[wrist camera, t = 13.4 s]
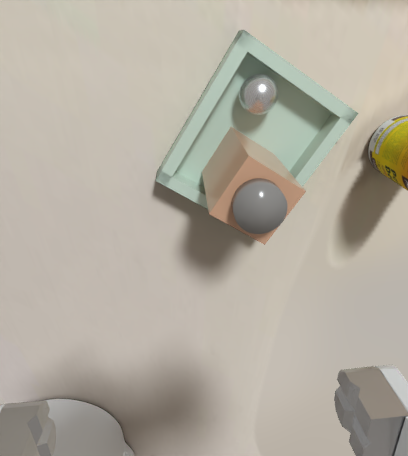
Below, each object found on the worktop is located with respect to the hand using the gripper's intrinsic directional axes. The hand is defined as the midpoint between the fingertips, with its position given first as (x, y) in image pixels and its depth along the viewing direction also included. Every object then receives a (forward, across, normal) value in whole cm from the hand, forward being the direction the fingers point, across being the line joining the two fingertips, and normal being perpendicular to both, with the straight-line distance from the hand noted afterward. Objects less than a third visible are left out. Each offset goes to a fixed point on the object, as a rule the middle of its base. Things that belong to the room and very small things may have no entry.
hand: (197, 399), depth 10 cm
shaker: (+24, -5, 0) cm, 25 cm away
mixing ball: (+24, -7, -5) cm, 25 cm away
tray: (+25, -6, -1) cm, 25 cm away
